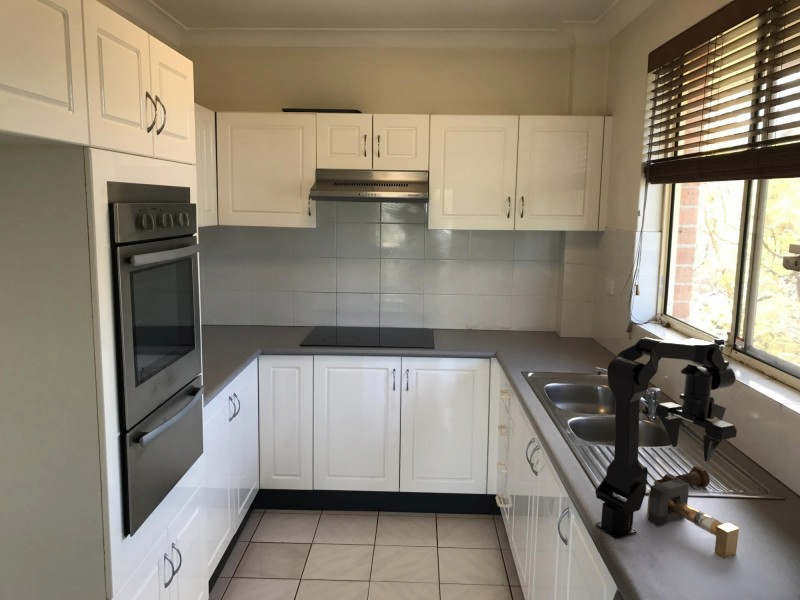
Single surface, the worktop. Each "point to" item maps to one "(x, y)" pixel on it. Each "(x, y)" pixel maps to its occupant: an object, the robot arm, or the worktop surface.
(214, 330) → the worktop surface
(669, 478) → the bolt
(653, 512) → the dark grey square ring
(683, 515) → the square head rod
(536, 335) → the worktop surface
